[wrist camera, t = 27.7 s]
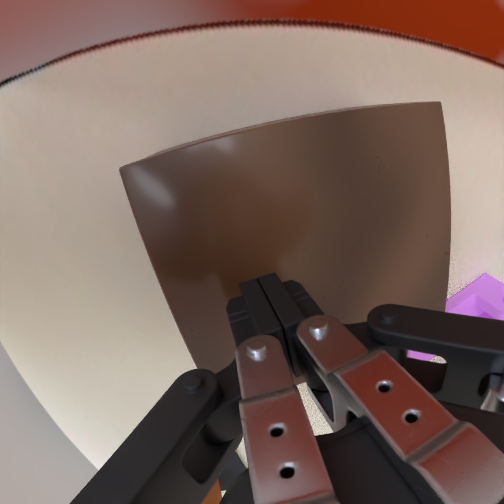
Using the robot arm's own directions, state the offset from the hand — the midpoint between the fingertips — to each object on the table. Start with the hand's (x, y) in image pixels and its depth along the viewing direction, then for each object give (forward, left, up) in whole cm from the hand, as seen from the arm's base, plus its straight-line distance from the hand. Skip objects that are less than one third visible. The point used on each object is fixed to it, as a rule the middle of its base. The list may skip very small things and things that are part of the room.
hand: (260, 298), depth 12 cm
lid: (+4, 0, -1) cm, 4 cm away
